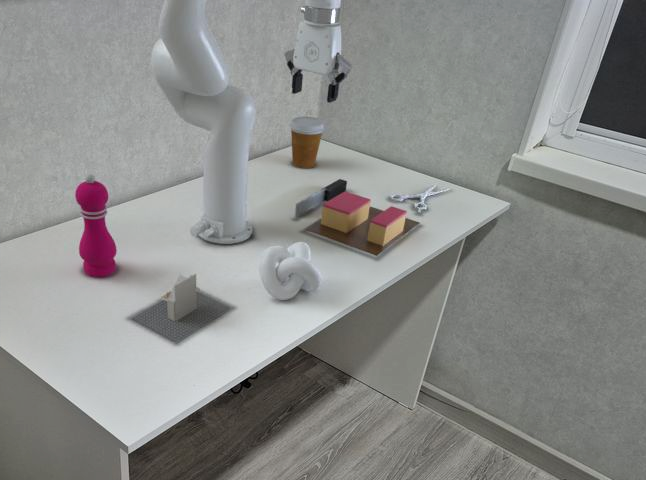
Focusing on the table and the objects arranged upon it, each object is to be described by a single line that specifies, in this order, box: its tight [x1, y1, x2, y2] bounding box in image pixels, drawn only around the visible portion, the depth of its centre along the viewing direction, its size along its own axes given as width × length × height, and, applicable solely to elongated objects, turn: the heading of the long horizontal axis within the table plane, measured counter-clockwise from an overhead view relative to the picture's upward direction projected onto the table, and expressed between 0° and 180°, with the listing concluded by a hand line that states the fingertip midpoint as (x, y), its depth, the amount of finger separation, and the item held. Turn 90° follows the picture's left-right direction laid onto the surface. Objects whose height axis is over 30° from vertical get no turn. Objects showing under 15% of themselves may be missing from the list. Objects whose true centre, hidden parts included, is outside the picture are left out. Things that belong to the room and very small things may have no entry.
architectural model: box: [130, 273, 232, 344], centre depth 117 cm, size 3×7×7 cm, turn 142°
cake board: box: [303, 205, 421, 257], centre depth 151 cm, size 22×19×1 cm
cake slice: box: [367, 205, 408, 246], centre depth 145 cm, size 10×4×5 cm, turn 143°
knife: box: [294, 178, 348, 218], centre depth 159 cm, size 22×2×4 cm, turn 144°
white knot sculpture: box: [259, 241, 322, 301], centre depth 124 cm, size 11×12×9 cm
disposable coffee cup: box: [289, 116, 326, 169], centre depth 179 cm, size 10×10×12 cm
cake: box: [320, 190, 372, 233], centre depth 150 cm, size 10×7×5 cm
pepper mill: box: [74, 173, 117, 278], centre depth 124 cm, size 7×7×20 cm
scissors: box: [389, 184, 450, 213], centre depth 167 cm, size 11×1×20 cm
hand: (313, 96), depth 150 cm, fingers open, 9 cm apart
